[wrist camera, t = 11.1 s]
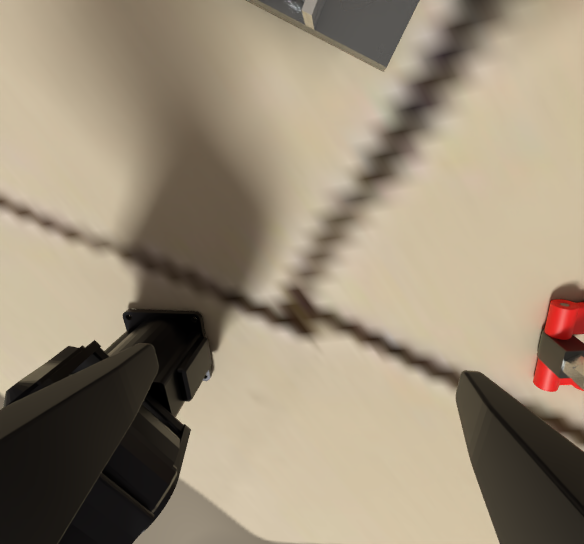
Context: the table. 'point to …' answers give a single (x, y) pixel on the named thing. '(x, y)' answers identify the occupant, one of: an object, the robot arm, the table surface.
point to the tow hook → (561, 347)
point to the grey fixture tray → (349, 24)
